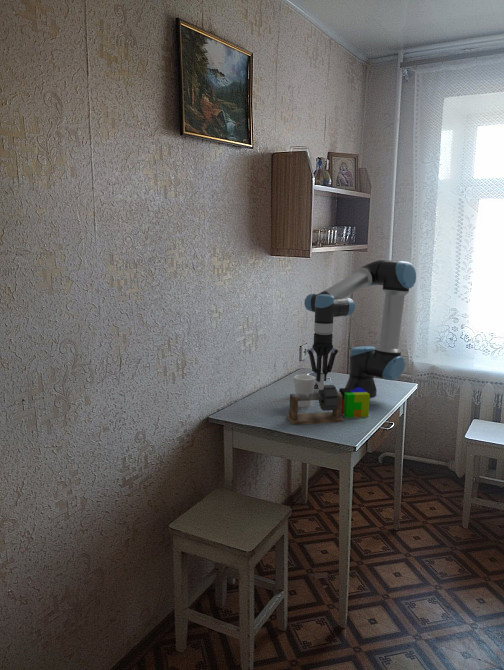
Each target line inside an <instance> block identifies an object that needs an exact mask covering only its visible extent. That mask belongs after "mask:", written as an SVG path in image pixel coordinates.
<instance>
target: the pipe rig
mask: <svg viewBox="0 0 504 670" xmlns="http://www.w3.org/2000/svg"><path fill="white" fill-rule="evenodd" d="M337 393H338V397H337V398H338V405H337V408H336V409H335V410H331V411H327V412H310V413H308V412H307V413H298V408H299V406H298V401H310V400H311V401H319V400H324V394H323V393H318V392H313V393H303V394H295V393H290V394H289V410H288V411H289V413H288V414H286V419H287V420H288V421H289V423H291V424H292V425H293V426H295V425H296V426H297V425H310V424H311V425H313V424H328V423H344V422H345V418H343V416H342V413H341V411H342V395H341V392H339V391H337Z"/></svg>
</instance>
